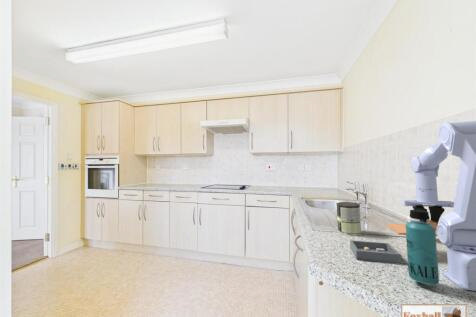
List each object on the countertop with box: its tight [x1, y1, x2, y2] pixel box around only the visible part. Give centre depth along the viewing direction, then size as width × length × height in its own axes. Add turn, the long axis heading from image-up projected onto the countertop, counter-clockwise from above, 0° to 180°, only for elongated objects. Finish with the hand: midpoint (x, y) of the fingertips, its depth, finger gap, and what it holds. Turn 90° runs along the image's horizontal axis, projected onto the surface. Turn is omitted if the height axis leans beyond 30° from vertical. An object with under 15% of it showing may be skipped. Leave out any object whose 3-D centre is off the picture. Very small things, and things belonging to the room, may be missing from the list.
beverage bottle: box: [405, 209, 441, 286], centre depth 56 cm, size 6×7×20 cm
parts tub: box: [349, 239, 402, 265], centre depth 75 cm, size 11×13×3 cm
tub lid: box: [385, 219, 438, 237], centre depth 77 cm, size 12×14×4 cm
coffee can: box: [336, 201, 362, 237], centre depth 102 cm, size 10×10×14 cm
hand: (429, 226), depth 75 cm, fingers closed on tub lid, 2 cm apart
